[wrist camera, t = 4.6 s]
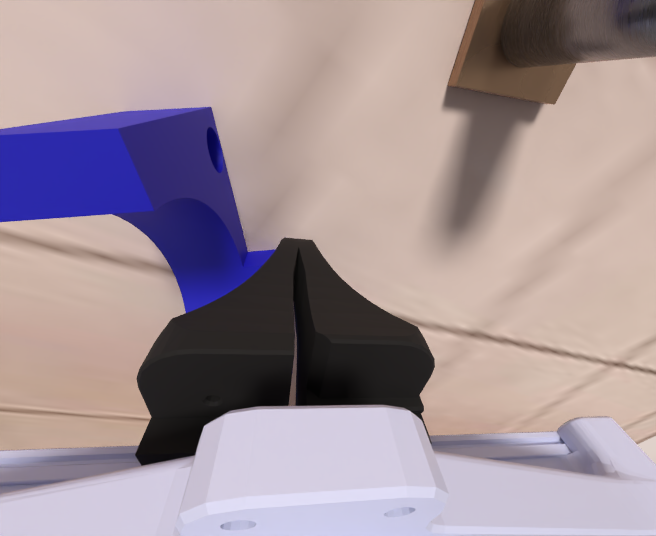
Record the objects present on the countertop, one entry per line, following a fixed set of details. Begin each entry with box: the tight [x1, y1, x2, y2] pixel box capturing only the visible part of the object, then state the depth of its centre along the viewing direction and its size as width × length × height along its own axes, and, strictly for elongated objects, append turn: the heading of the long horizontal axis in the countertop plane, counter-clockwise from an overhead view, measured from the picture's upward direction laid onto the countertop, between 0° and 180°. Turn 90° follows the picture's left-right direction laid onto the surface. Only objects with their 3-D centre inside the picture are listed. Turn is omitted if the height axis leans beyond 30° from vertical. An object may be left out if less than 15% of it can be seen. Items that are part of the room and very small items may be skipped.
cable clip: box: [0, 107, 275, 313], centre depth 10 cm, size 12×4×6 cm, turn 2°
